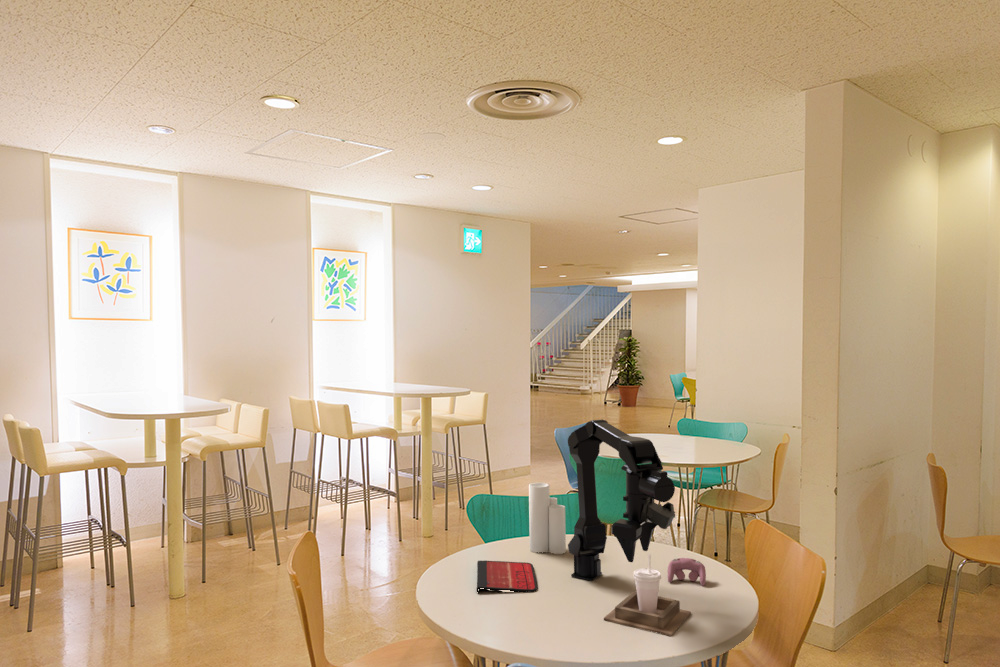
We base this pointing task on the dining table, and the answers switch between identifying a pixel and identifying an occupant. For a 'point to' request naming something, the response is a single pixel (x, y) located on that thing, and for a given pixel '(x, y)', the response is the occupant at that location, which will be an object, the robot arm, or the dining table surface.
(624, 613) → the brown shallow square tray
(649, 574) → the smoothie
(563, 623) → the dining table surface
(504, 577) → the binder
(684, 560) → the video game controller
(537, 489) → the vase
